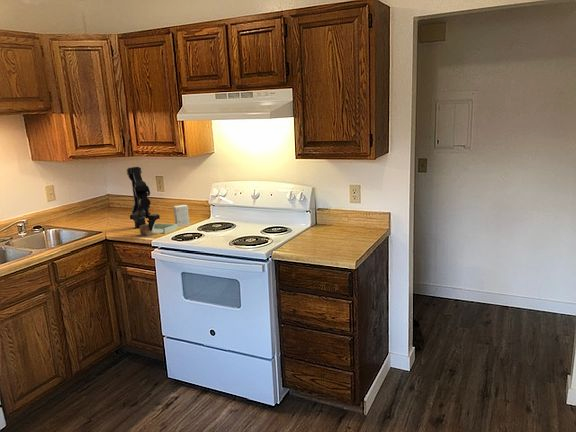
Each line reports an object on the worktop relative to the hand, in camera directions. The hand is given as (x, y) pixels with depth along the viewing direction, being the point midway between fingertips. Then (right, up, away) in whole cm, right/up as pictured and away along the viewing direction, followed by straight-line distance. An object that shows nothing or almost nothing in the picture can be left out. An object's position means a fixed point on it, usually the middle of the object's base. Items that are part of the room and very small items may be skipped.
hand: (146, 230), depth 285 cm
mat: (0, -3, +1) cm, 3 cm away
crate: (+5, 0, +11) cm, 12 cm away
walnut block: (0, -3, +1) cm, 3 cm away
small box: (+17, +2, +23) cm, 29 cm away
